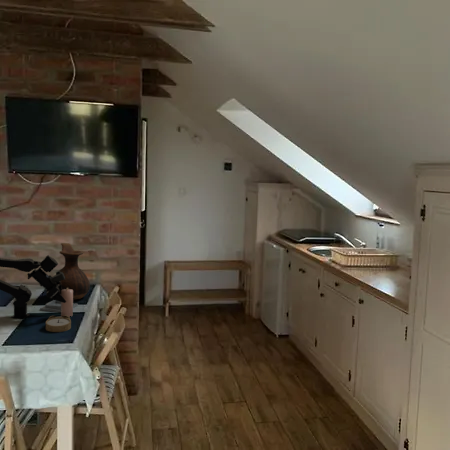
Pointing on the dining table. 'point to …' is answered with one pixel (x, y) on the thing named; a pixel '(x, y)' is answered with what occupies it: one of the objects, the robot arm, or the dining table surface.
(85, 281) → the jug
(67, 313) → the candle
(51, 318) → the alarm clock
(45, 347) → the dining table surface
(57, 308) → the dish
